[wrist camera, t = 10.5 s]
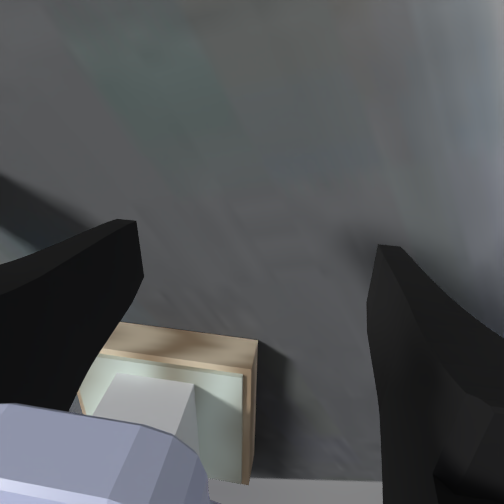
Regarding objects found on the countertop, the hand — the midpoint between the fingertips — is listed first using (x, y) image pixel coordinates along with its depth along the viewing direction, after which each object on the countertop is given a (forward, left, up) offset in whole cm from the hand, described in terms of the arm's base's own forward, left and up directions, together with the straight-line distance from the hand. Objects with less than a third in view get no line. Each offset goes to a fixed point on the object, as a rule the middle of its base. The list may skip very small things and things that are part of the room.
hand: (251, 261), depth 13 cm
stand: (+7, +18, -9) cm, 21 cm away
